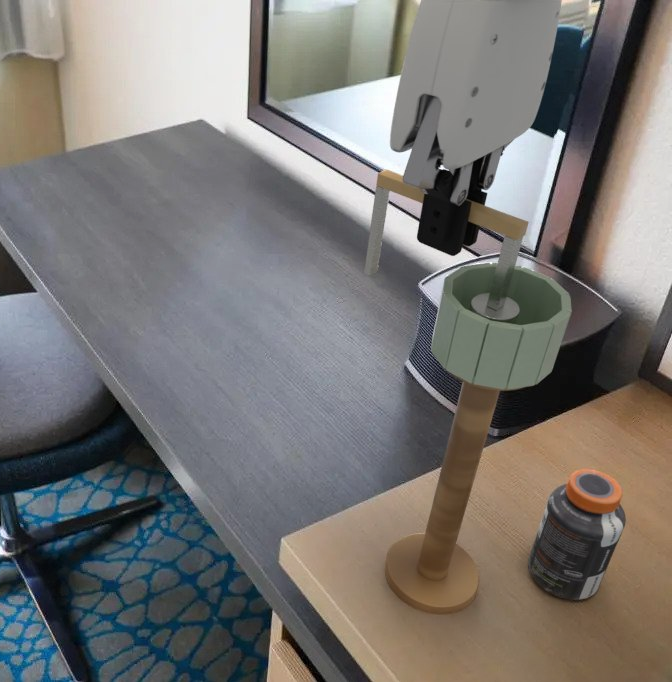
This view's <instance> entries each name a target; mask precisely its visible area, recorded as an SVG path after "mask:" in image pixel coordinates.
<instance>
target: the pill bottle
mask: <svg viewBox="0 0 672 682" xmlns="http://www.w3.org/2000/svg"><path fill="white" fill-rule="evenodd" d="M623 493H624V492H623V489H622V486H621V485H620V484H619V482H618V481H617V480H616V479H614V478H613V477H612V476H610V475H609V474H606V473H604V472H602V471H599V470H596V469H588V468H587V469H584V468H583V469H578V470H575V471H574V472H573V473H572V474H571V475H570V476H569V479H568V482H567V483H564V484H561V485H559V486H557V487H556V488H555V489H554V490H553V491H551V493H550V495H549V497H548V500H547V503H546V506H545V509H544V512H543V515H542V516H541V519H540V523H539V526H538V530H537V532H536V536H535V539H534V542H533V544H532V546H531V547H532V548H531V550H530V553H529V556H528V559H527V568H528V571H529V574H530V576H531V577H532V579H533V580H534V581H535V583H537V585H539V586H540V587H541V588H542V589H544V590H545V591H546V592H547V593H549V594H552V595H554V596H557V597H559V598H562V599H566V600H574V601H579V600H584V599H588V598H590V597H592V596H593V595H595V594H596V593H597V591H599V588H600V586H601V583H602V581H603V578H604V576H605V574H606V572H607V569H608V566H609V564H610V561H612V560H611V559H612V557H613V556H614V552H615V550H616V547H617V545H618V543H619V541H620V538H621V536H622V534H623V531H624V529H625V528H626V527H625V526H626V522H627V518H626V513H625V510H624V508H623V506H622V505H621V500H622V498H623Z"/></svg>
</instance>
